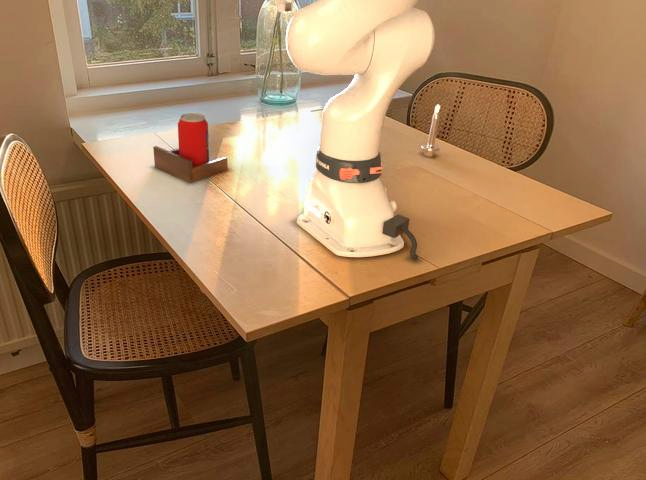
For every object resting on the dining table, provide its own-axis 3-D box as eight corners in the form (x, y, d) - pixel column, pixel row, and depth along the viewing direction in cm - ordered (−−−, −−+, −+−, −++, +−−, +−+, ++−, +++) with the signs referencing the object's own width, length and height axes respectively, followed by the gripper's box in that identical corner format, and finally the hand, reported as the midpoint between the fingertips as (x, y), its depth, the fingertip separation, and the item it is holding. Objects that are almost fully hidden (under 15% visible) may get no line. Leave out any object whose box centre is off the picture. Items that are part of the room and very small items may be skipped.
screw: (442, 155, 150) (430, 159, 147) (427, 150, 153) (415, 154, 150) (452, 105, 143) (440, 108, 140) (436, 100, 146) (424, 103, 143)
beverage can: (215, 167, 136) (214, 116, 130) (195, 175, 132) (193, 123, 125) (193, 160, 139) (191, 110, 133) (173, 168, 135) (170, 116, 128)
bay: (192, 155, 142) (191, 135, 139) (227, 170, 135) (227, 149, 133) (154, 167, 135) (153, 146, 132) (190, 183, 128) (188, 161, 125)
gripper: (264, -63, 109) (262, 18, 116) (331, -62, 122) (325, 10, 129) (240, -65, 112) (240, 13, 120) (307, -64, 125) (303, 6, 133)
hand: (284, 11), depth 125 cm, fingers closed
